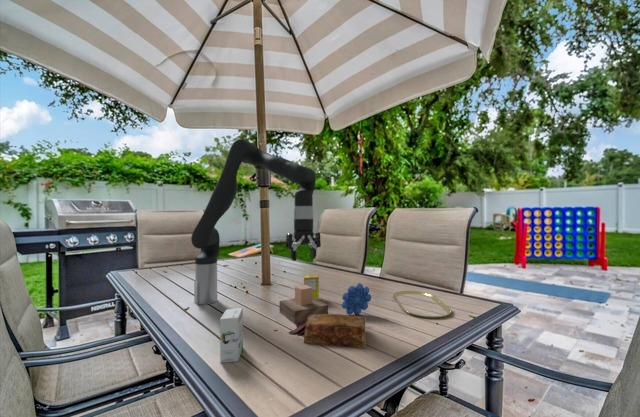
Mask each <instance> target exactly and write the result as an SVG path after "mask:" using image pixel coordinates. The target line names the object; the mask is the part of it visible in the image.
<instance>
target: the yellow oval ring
mask: <svg viewBox="0 0 640 417" xmlns="http://www.w3.org/2000/svg"><path fill="white" fill-rule="evenodd" d="M402 295H419V296H424V297H427V298H430V299H431V300H432V301H434V303H436V304H437V305H438V306H439V307H441V309H442V310H444V311H445V312H446V314H445V315H436V316H435V315H423V314H422V315H421V314H417V313H413V312H410V311H407V310H406V309H405V308H404V306H403V305H402V303H401V302H400V301H399V300H398V298H397V297H398V296H402ZM392 297H393V298H394V300H395V301H396V302H397V304H398V306H400V308H401V310H402V311H404V312H405V313H406V314H407V315H410V316H413V317H417V318H423V319H431V320H432V319H435V320H436V319H443V318H446V317H448V316H450V315H451V313H452V309H451V307H449V306H447V305H446V304H445V303H444V302H443V301H441V300H440V299H439V298H438V297H436V296H435V295H433V294H431V293H428V292H424V291H419V290H400V291H396V292H394V293H393V294H392Z"/></svg>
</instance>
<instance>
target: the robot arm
mask: <svg viewBox="0 0 640 417" xmlns="http://www.w3.org/2000/svg"><path fill="white" fill-rule="evenodd" d="M242 163H244V164H249V165H253V166H259V167H261V168H264V169H266V170H268V171H269V172H271V173H273V174H275V175H278V176H281V177H282V178H285V179H287V180H288V181H290V182H292V183H293V184H296V185H299V189H298V191H296V192H294V193H295V194H294V209H293V231H294V232H293V233H286V241H285V249H286V250H289V251H290V259H291V261H293V262H295V261H297V249H298V247H300V245H304V244H306V245H309V247H310V248H311V249H310V258H311V259H314V260H315V259H316V258H317V249H318V248H321V246H322V245H321V243H322V242H321V232H320V231H319V232H318V231H315V232H314V207H313V205H314V204H313V203H314V202H313V198H314V197H313V195H314V191H315V186H316V177H317V176H316V173H315V171H314V170H313V169H312V168H310V167H307V166H303V165H301V164H297V163H294V162H293V161H291V160H288V159H286V158H283V157H281V156H278V155H274V154H269V153H267V152H266V151H263V150H261V149H260V148H259V147H257V145H255V144H253V143H252V142H249V141H248V140H246V139H243V138H236V140H234V141H233V143H231V146H230V149H229V151H228V154H227V156H226V159H225V163H224V166H223V168H222V171H221V173H220V176H219V178H218V181H217V183H216V185H215V187H214V189H213V191H212V194H211V196H210V198H209V200H208V203H207V205H206V207H205V208H204V212H203V214H202V216H201V217H200V220H199V221H198V222H197V224H196V226H195V228H194V229H193V232H192V234H191V237H190V238H191V245H192V246H193V247H194V248H195V249H199V250H200V251H199V253H198V255H197V256H196V257H195V259H194V261H195V263H194V266H195V267H194V269H195V270H194V273H195V274H194V276H195V278H194V282H193V283H194V284H193V288H194V292H193V295H194V298H193V299H194V300H193V301H194V302H195V304H196V305H209V304H213V303H216V302H217V301H218V257H219V254H220V243H221V242H220V241H221V240H220V233H219V230H217V229H216V228H215V226H216V225H217V222H219V221H220V219H221V218H222V217H223V215H225V213H226V212H228V210H229V209H230V207H231V206H232V204H233V202H234V200H235V198H236V195H237V192H238V179H237V178H238V171H239V169H240V166H241V164H242ZM313 237H314V240H313ZM293 240H294V241H293Z"/></svg>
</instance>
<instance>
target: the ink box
mask: <svg viewBox="0 0 640 417" xmlns="http://www.w3.org/2000/svg"><path fill="white" fill-rule="evenodd" d="M243 309H244V308H243V307H242V308H241V307H239V308H228V309H225V311H224V313H223V314H222V316H221V317H220V319H219V331H220V332H219V338H220V339H219V348H220V349H219V350H220V351H219V352H220V354H219V361H220V363H223V364H224V363H237V362H239V360H240V358H241V354H242V351H243V349H244V310H243Z"/></svg>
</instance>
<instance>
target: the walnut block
mask: <svg viewBox="0 0 640 417" xmlns="http://www.w3.org/2000/svg"><path fill="white" fill-rule="evenodd" d="M279 313H280V315H282V316H283V317H285V318H286V319H287V320H289V321H290V322H291V323H293V324H294V325H296V324H297V323H298V322H301V321H306V320H307V318H308V316H309V315H316V314H329V305H328V304H327V303H325V302H323V301H321V300H320V299H316V298H314V297H312V303H311V304H306V305H299V304H298V303H296V302H295V298H288V299H284V300H279Z"/></svg>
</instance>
